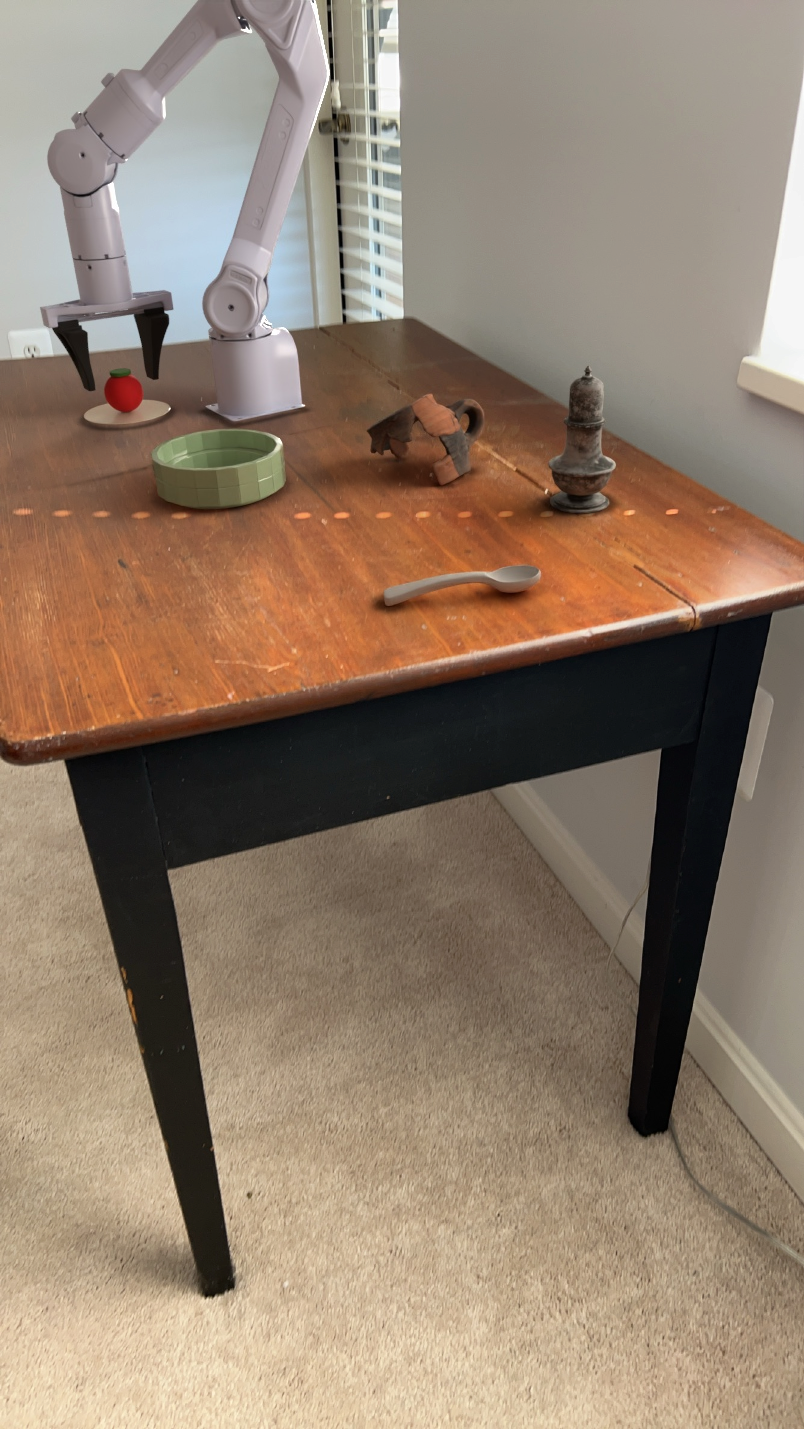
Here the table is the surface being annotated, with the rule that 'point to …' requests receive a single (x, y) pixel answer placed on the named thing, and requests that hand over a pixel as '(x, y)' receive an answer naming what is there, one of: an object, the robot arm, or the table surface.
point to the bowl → (219, 468)
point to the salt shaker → (582, 451)
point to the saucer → (127, 413)
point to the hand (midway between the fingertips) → (121, 383)
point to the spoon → (499, 579)
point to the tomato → (123, 390)
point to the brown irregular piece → (432, 433)
